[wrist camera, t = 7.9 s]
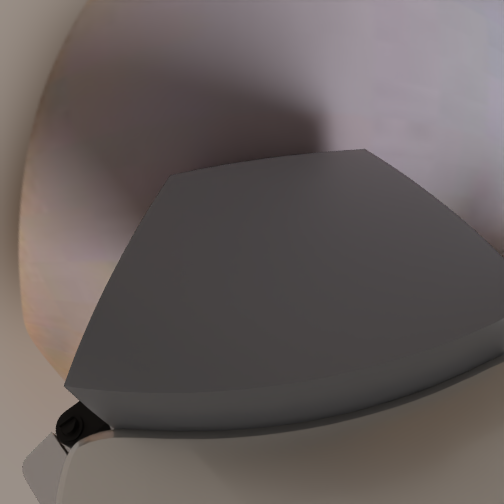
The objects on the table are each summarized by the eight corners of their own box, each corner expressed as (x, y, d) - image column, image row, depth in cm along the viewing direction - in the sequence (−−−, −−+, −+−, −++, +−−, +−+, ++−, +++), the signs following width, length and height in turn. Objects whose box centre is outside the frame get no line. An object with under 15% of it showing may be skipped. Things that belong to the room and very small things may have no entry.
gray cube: (365, 149, 10) (539, 299, 3) (356, 294, 14) (416, 447, 7) (170, 175, 10) (64, 386, 3) (212, 316, 15) (206, 484, 7)
